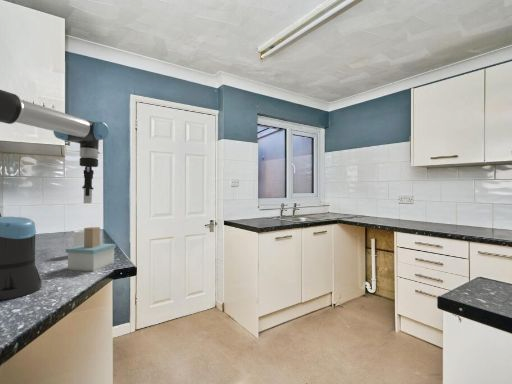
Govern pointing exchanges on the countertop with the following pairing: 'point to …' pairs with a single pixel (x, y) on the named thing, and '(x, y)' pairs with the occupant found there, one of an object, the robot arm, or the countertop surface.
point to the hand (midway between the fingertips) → (87, 203)
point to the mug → (77, 238)
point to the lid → (91, 243)
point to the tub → (90, 260)
